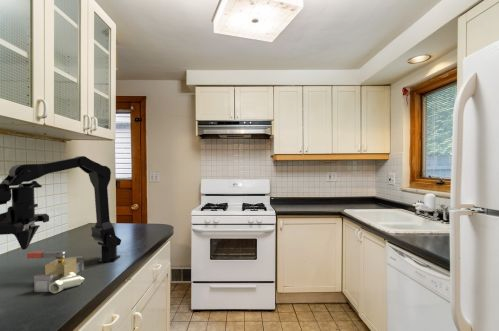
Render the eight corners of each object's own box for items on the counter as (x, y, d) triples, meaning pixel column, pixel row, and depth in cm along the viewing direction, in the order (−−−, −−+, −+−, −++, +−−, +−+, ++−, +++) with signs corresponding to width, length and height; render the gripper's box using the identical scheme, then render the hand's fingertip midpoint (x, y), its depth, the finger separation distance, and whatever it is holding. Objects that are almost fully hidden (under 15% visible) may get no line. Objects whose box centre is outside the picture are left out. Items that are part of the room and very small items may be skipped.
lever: (68, 255, 95) (68, 250, 95) (62, 258, 92) (62, 253, 92) (33, 255, 95) (32, 250, 95) (25, 259, 92) (25, 253, 92)
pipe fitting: (86, 283, 91) (66, 282, 92) (86, 272, 91) (67, 271, 92) (69, 295, 83) (48, 293, 84) (70, 283, 83) (49, 281, 84)
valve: (69, 269, 102) (69, 248, 102) (86, 269, 102) (85, 248, 102) (31, 292, 84) (31, 267, 84) (52, 291, 84) (51, 266, 84)
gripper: (14, 199, 96) (15, 242, 96) (-29, 208, 77) (-28, 261, 78) (49, 198, 98) (50, 240, 98) (14, 206, 79) (16, 258, 80)
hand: (24, 249), depth 88 cm, fingers closed
